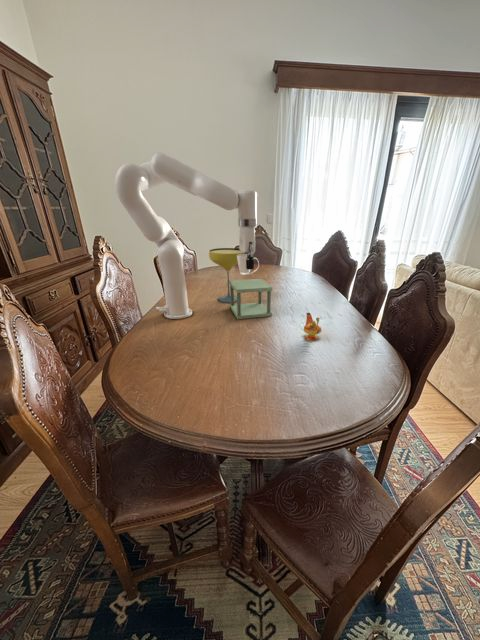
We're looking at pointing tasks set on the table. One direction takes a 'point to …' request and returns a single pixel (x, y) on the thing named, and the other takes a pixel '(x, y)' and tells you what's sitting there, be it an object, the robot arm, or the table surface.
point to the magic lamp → (312, 328)
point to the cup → (244, 264)
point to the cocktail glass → (225, 264)
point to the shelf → (250, 308)
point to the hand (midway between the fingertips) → (247, 267)
